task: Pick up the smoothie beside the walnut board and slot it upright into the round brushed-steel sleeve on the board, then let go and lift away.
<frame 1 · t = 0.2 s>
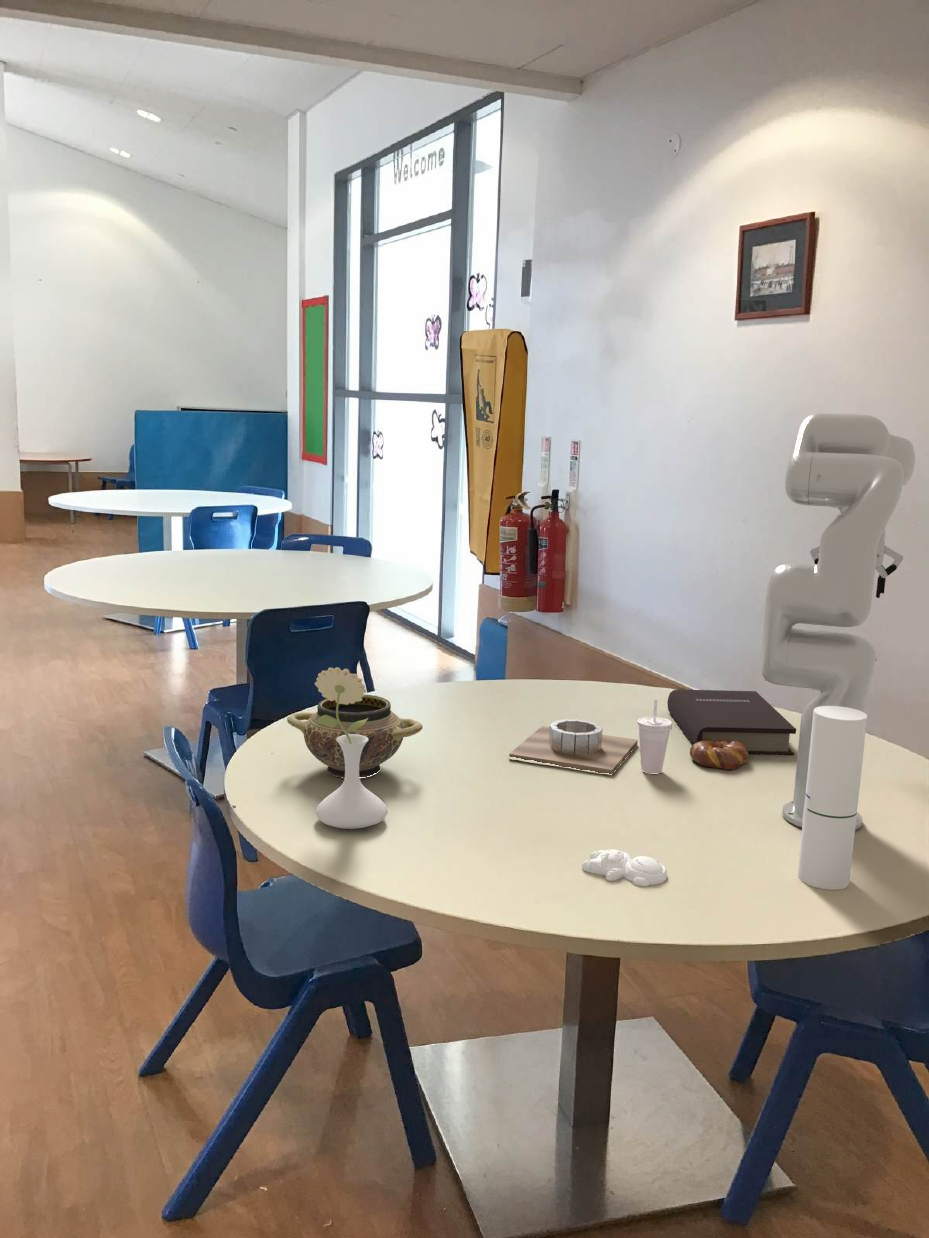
hand: (852, 594, 213), 31 cm above the table, tool pointing down, fingers open, 9 cm apart
steel sleeve: (575, 736, 209), on the walnut board, point 3 cm above the table
flower in vase: (347, 821, 172), on the table
cylindrical container: (823, 880, 156), on the table
ceramic bowl: (353, 772, 195), on the table
book: (726, 735, 225), on the table
pretzel: (719, 761, 207), on the table
walnut board: (574, 752, 209), on the table
smoothie: (651, 772, 200), on the table
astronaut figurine: (623, 874, 157), on the table
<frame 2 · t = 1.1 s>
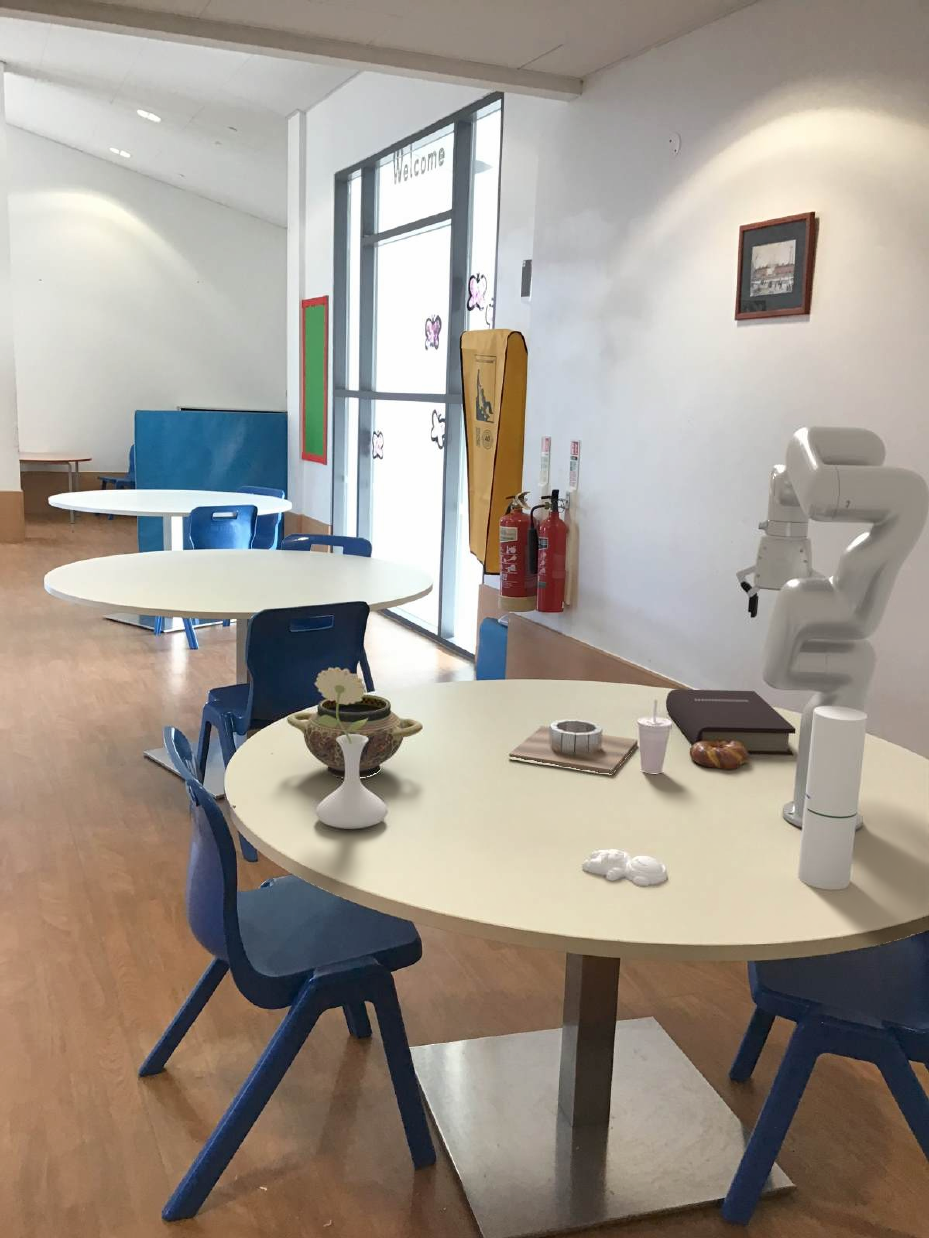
hand: (779, 619, 206), 27 cm above the table, tool pointing down, fingers open, 9 cm apart
book: (725, 735, 225), on the table, touching pretzel
pretzel: (718, 761, 207), on the table, touching book
everything else where it was.
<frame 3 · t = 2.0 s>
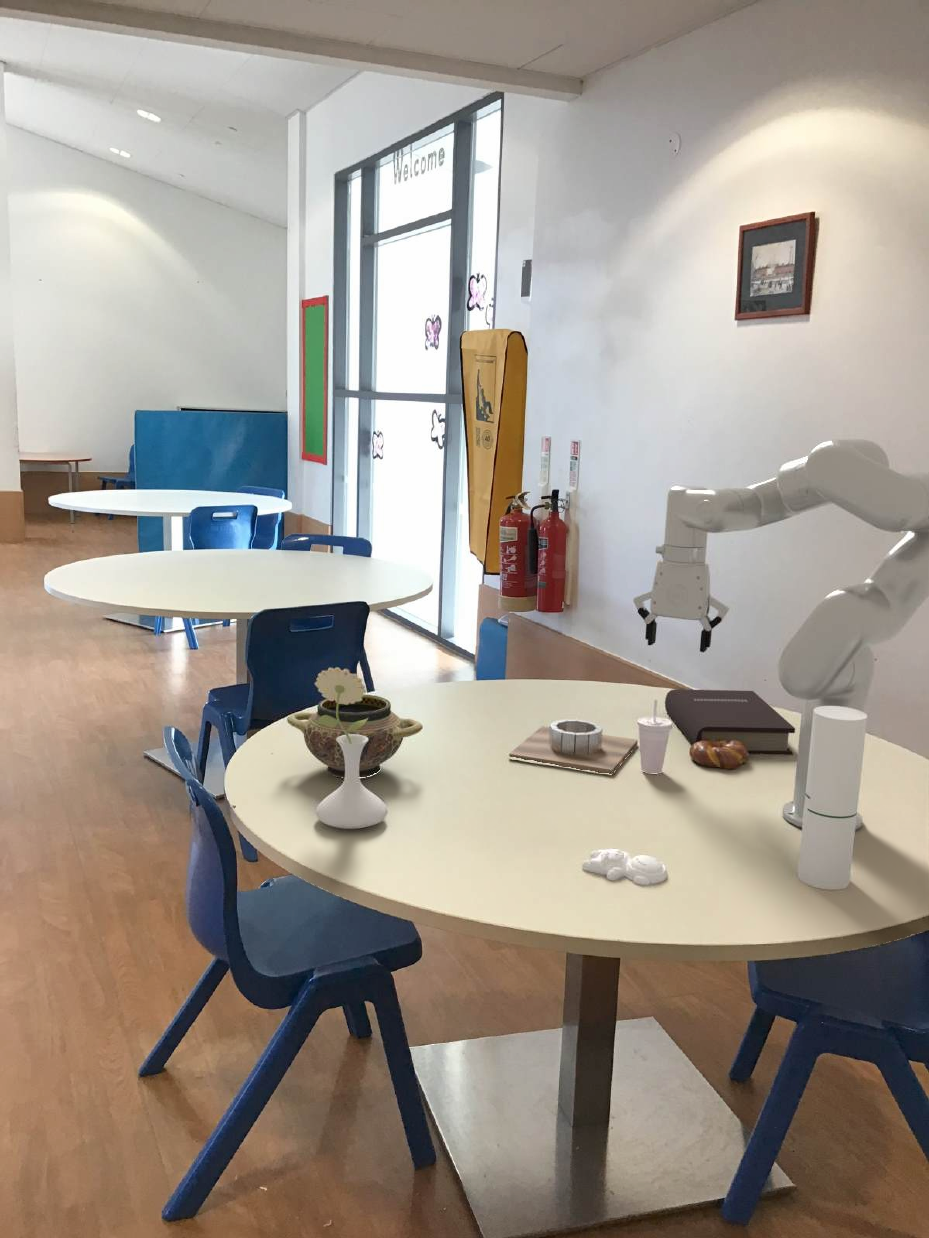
hand: (677, 647, 197), 23 cm above the table, tool pointing down, fingers open, 9 cm apart
nothing on the table moved.
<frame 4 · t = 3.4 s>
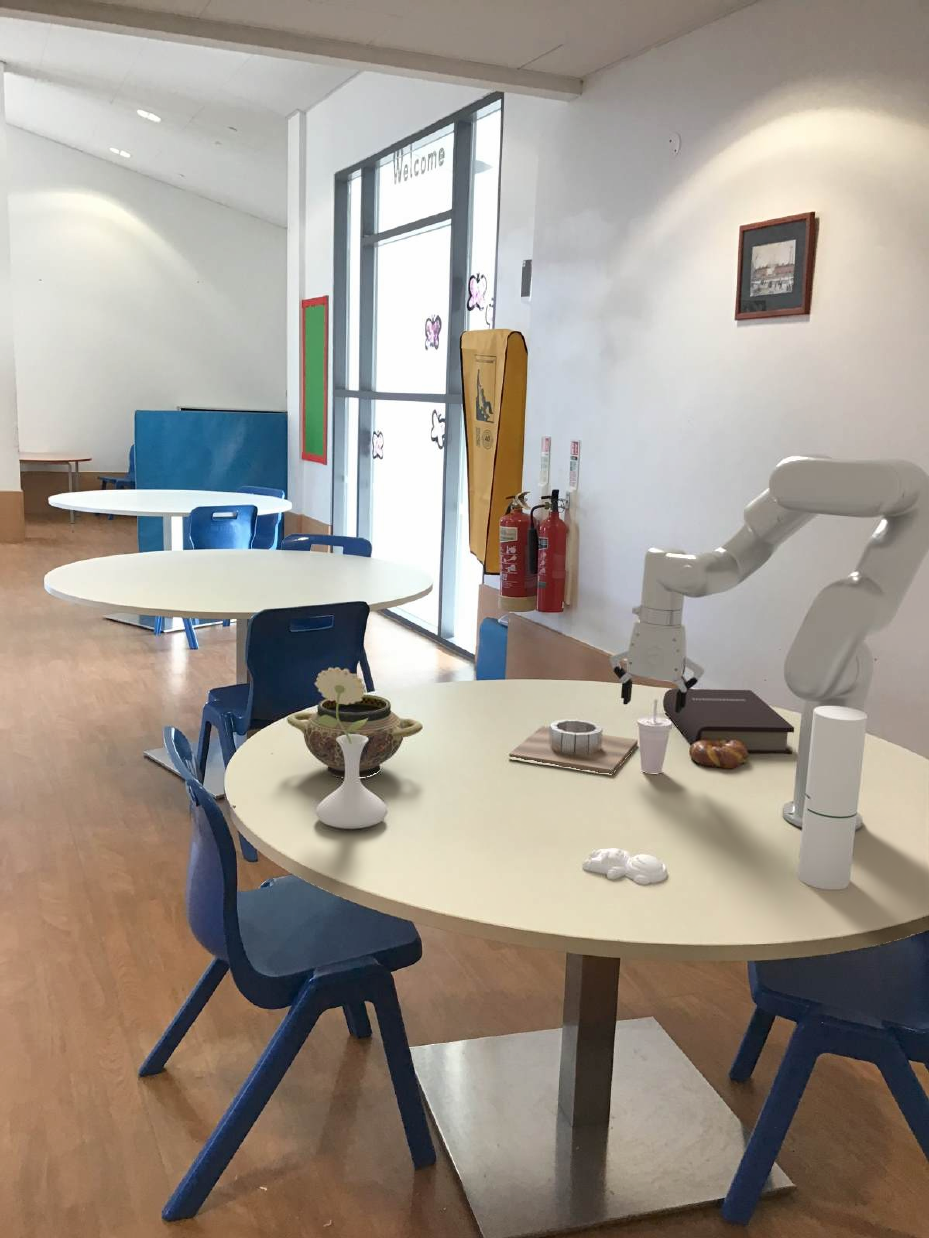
hand: (652, 706, 198), 12 cm above the table, tool pointing down, fingers open, 9 cm apart
book: (722, 735, 226), on the table
pretzel: (718, 760, 207), on the table
everything else where it was.
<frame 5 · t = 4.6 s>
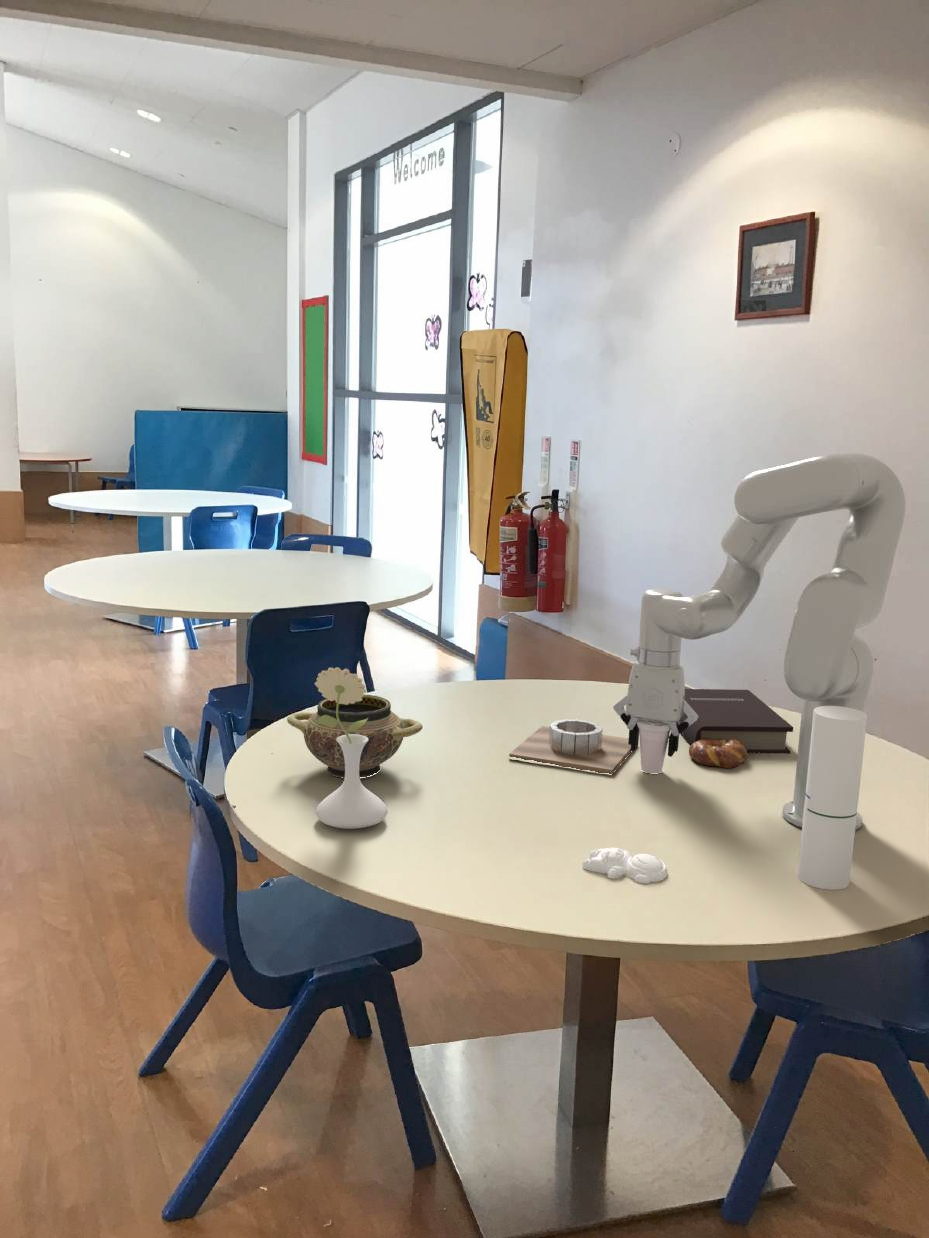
hand: (652, 750, 199), 4 cm above the table, tool pointing down, fingers closed on smoothie, 6 cm apart
smoothie: (651, 772, 200), on the table, touching gripper
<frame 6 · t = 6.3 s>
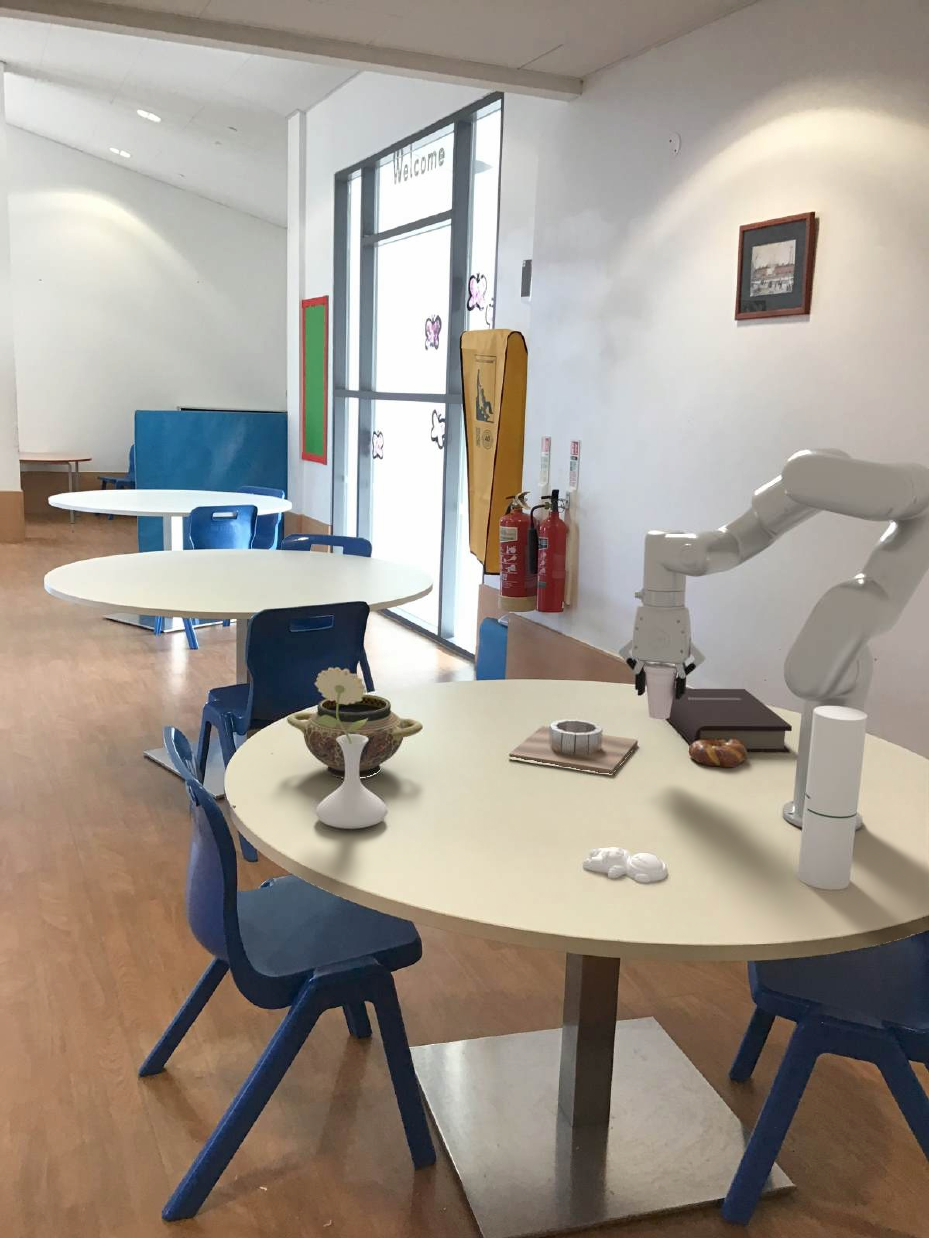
hand: (660, 695, 196), 15 cm above the table, tool pointing down, fingers closed on smoothie, 6 cm apart
book: (719, 734, 226), on the table, touching pretzel
pretzel: (717, 760, 208), on the table, touching book
smoothie: (659, 717, 197), point 11 cm above the table, touching gripper
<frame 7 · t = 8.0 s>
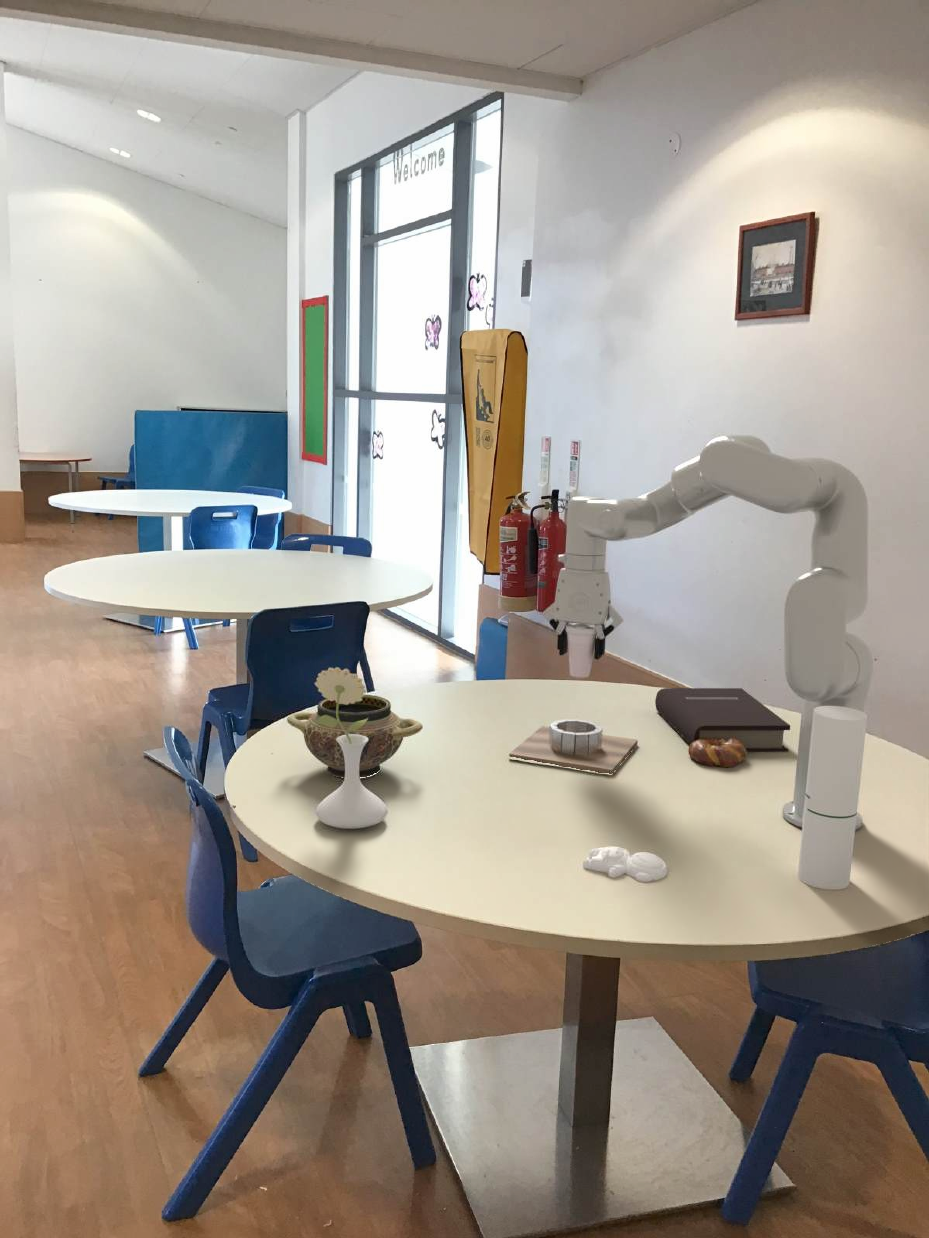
hand: (580, 655, 205), 19 cm above the table, tool pointing down, fingers closed on smoothie, 6 cm apart
smoothie: (579, 676, 206), point 15 cm above the table, touching gripper
when the fingers open (6 cm above the table, at t = 11.0 s): smoothie drops 1 cm, resting on walnut board.
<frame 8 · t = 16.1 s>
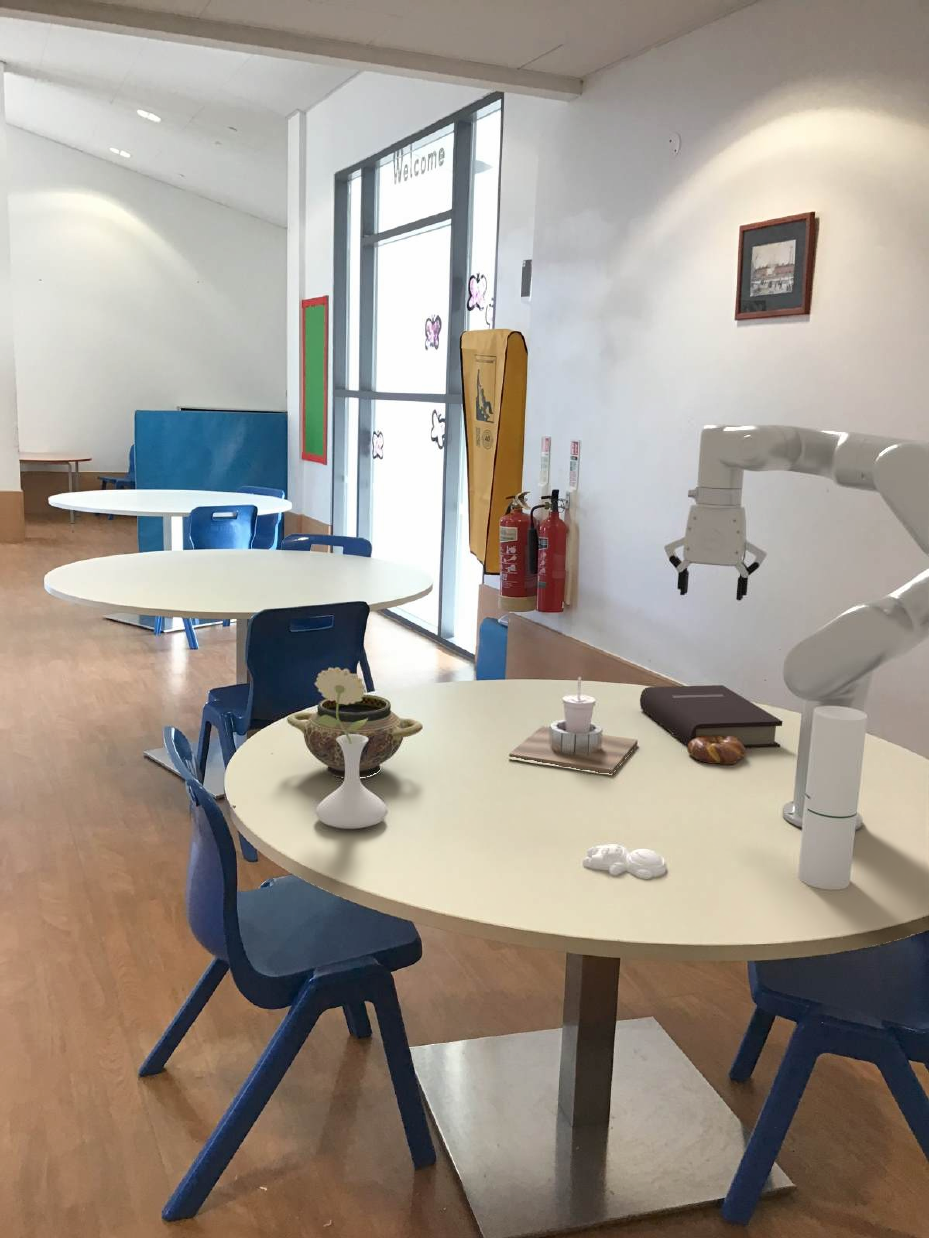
hand: (711, 596, 187), 34 cm above the table, tool pointing down, fingers open, 9 cm apart
book: (705, 731, 228), on the table, touching pretzel
pretzel: (716, 757, 210), on the table, touching book
smoothie: (576, 747, 209), point 1 cm above the table, touching walnut board
at the end: smoothie 0.3 cm off-centre on the steel sleeve, point 1.0 cm above the steel sleeve's base; smoothie tilted 0°; the gripper is holding nothing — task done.
